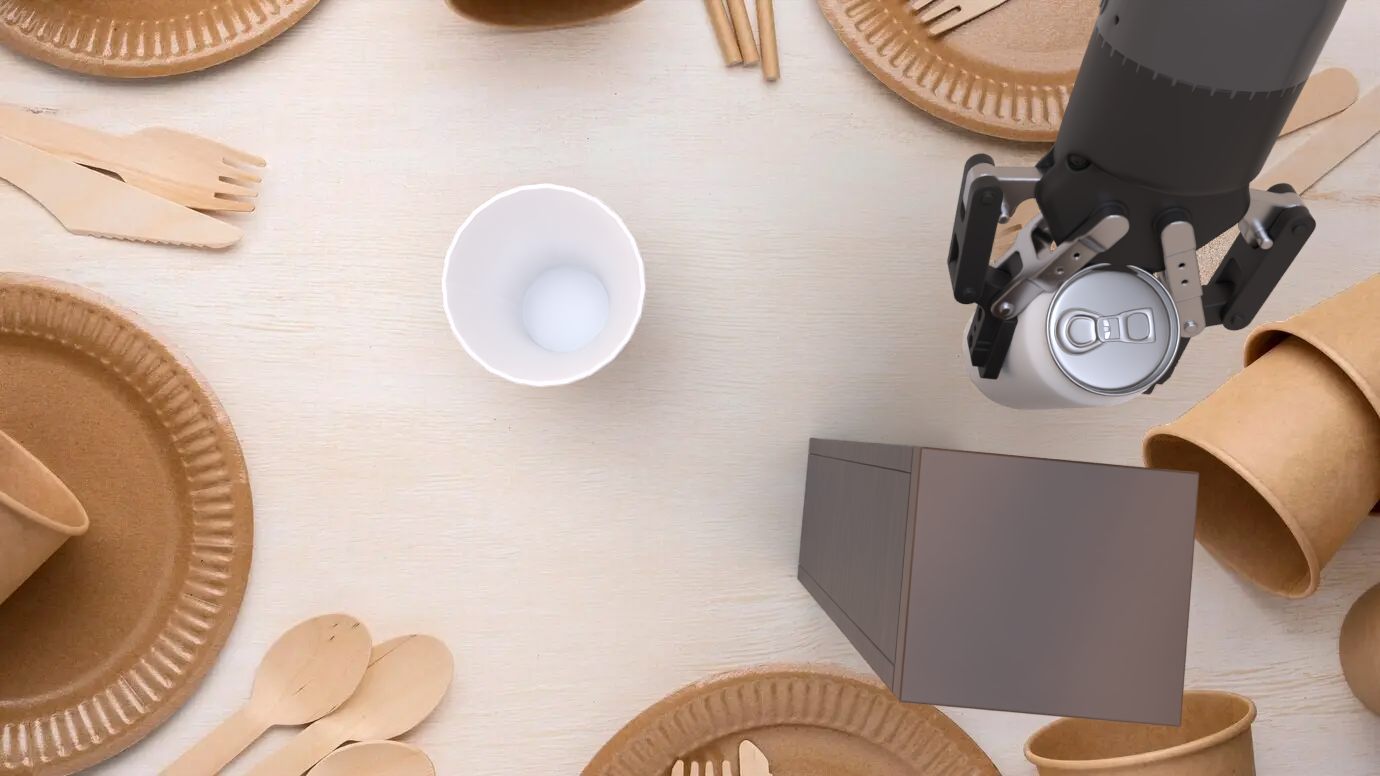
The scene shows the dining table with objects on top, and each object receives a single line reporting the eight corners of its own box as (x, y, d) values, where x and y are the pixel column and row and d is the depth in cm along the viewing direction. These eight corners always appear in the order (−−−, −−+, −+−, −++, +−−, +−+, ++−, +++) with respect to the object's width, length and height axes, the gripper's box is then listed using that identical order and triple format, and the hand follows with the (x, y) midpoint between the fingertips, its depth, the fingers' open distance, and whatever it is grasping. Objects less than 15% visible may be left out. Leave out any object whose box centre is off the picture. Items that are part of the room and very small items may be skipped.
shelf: (1184, 471, 39) (1200, 472, 37) (1165, 718, 38) (1181, 728, 37) (913, 445, 38) (920, 446, 37) (891, 694, 38) (899, 703, 37)
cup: (648, 398, 67) (642, 390, 54) (483, 392, 67) (435, 383, 53) (654, 234, 67) (650, 186, 54) (490, 228, 67) (444, 178, 54)
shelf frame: (965, 452, 67) (1184, 471, 39) (953, 593, 67) (1165, 718, 38) (809, 437, 67) (913, 445, 38) (797, 579, 67) (891, 694, 38)
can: (953, 293, 56) (1028, 257, 44) (1075, 282, 56) (1183, 244, 44) (965, 415, 55) (1043, 413, 43) (1087, 404, 55) (1199, 399, 43)
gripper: (1024, 62, 35) (915, 416, 47) (1452, 103, 35) (1238, 447, 47) (991, -26, 41) (900, 310, 52) (1361, 10, 41) (1190, 338, 52)
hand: (1061, 374), depth 49 cm, fingers closed on can, 6 cm apart
